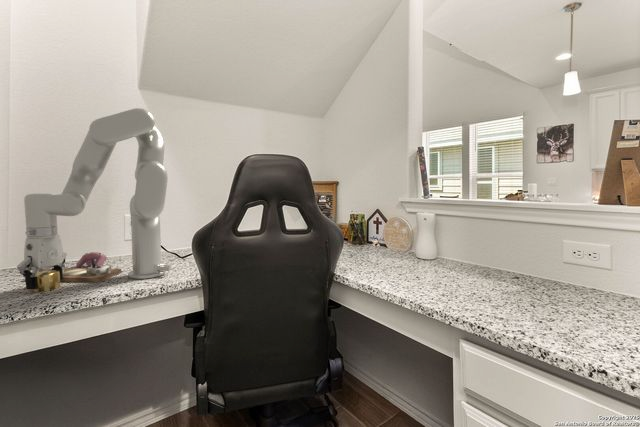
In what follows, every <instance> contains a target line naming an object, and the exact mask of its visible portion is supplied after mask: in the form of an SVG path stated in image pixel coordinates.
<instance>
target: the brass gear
mask: <svg viewBox="0 0 640 427" xmlns="http://www.w3.org/2000/svg"><path fill="white" fill-rule="evenodd" d="M35 276H37V279H38V289H30V292H34V293H39V292H49V291H51V290H56V289H59V287H61V282H60V271H56V270H51V271H41V272H37V274H36V275H35Z"/></svg>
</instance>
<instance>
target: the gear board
mask: <svg viewBox="0 0 640 427" xmlns="http://www.w3.org/2000/svg"><path fill="white" fill-rule="evenodd" d="M95 261H96V260H95V259H92V266H87V267H85V268H84V267H79V268H78V267H66V265H65V264H63V265H64V267H63V268H62V271H63V279H62V280H60V283H61V282H62V283H63V282H66V283H69V282H70V283H102V282H104V281H106V280H108V279H111V278H113V277H115V276H118V275H119V274H121V273H122V272H123V271H122V268H112V267H111V265H109V264H108V265H104V264H103V265H98V266H95ZM52 268H54V267H53V266H52V267H49V268H46V269H39V270H38V272H41V271H51V270H52ZM38 272H37V273H38Z"/></svg>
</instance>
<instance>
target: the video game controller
mask: <svg viewBox="0 0 640 427" xmlns="http://www.w3.org/2000/svg"><path fill="white" fill-rule="evenodd" d="M107 258H108V257H107V255H106V254H103V253H101V252H99V251H98V252H96V251H91V252H86V253H84V254H83V255H82V256H81V257H80V259H79V260H78V261H77V262H76V268H82V267H83V266H85V264H86V266H87V267H92V259H95V266H98V265H104V263H105V262H106V261H107Z"/></svg>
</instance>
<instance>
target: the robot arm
mask: <svg viewBox="0 0 640 427" xmlns="http://www.w3.org/2000/svg"><path fill="white" fill-rule="evenodd" d="M155 122H156V120H155V117H154V115H153V114H152V113H151V112H150V111H148V110H147V109H144V108H142V107H140V108H139V107H137V108H136V107H135V108H132V109H131V108H130V109H128V110H124V111H121V112H118V113H114V114H111V115H106V116H102V117H99V118H97V119H95V120H92V122H91V123H90V125H89V127H88V130H87V133H86V136H85V137H84V140H83V142H82V143H81V146H80V148H79V150H78V152H77V154H76V156H75V158H74V159H73V163H72V169H71V171H70V172H71V173H70V175H69V178H68V180H67V182H66V184H65V186H64V188H63V191H62V192H61V193H60V194H51V193H28V194H26V195H25V196H24V198H23V200H24V215H25V235H26V238H25V241H24V251H23V258H24V259H23V260H22V261H21V262H20V263H19V264H17V266H16V267H17V270H18V272H19V274H20V275H22V277H23V278H24V281H25V289H26V290H31V289H38V279H37V276H35V275H36V274H37V273H38V270H39V269H46V268H49V267H52V266H53V267H54V268H52V270H56V271H60V280H62V279H63V271H62V268H63V267H64V265H65V262H66V258H67V255H68V254H67V253H66V252H64V250H63V243H62V239H61V236H60V234H58V233H59V232H58V219H57V218H58V217H57V216H60V217H61V216H62V217H75V216H78V215H80V214H81V213H82V212H83V211H84V209H85V206H86V204H87V202H88V200H89V198H90V195H91V193H92V191H93V189H94V187H95V186H96V184H97V182H98V180H99V179H100V177H101V176H102V174H103V173H104V171H105V168H106V166H107V164H108V162H109V160H110V158H111V156H112V154H113V152H114V149H115V147H116V145H117V143H119V142H122V141H125V140H129V139H132V138H136V141H137V143H138V144H137V146H138V149H137V161H136V167H135V170H134V178H135V180H136V182H135V190H134V195H133V196H132V197H131V199H130V201H129V215H130V226H131V230H130V231H131V255H132V258H131V260H132V270H131V271H129V272H128V273H127V276H128V278H131V279H135V280H141V279H142V280H144V279H151V278H158V277H161V276H163V275H165V274H167V273H166V272H171V270H172V266H171V264H165V262H164V261H163V260H162V248H161V247H162V246H161V239H162V238H161V218H160V215H161V214H162V212H163V210H164V207H165V202H166V195H167V187H168V179H169V178H168V172H167V171H168V170H166V168H165V166H164V160H165V158H164V157H165V142H164V138H163V136H162V134H161V132H160V131H159V129H158V128H157V127H156V126H155V124H156V123H155Z"/></svg>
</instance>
